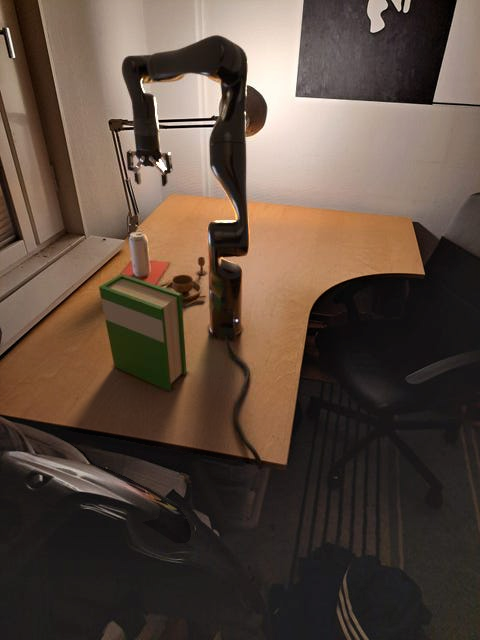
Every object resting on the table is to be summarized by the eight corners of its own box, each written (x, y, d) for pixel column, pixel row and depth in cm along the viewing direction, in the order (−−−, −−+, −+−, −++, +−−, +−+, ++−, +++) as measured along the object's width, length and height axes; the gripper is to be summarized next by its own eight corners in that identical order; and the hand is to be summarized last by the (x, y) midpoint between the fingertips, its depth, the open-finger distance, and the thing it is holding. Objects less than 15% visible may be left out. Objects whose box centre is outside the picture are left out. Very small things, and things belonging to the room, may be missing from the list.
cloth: (152, 290, 141) (152, 289, 141) (112, 286, 143) (112, 285, 142) (169, 263, 157) (169, 262, 157) (133, 260, 159) (133, 259, 159)
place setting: (153, 287, 143) (152, 271, 140) (201, 270, 154) (201, 255, 150) (182, 309, 132) (181, 293, 129) (232, 289, 143) (232, 274, 139)
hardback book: (186, 373, 108) (181, 293, 94) (169, 391, 103) (160, 309, 89) (133, 351, 115) (121, 273, 101) (114, 366, 110) (99, 287, 96)
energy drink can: (134, 269, 152) (129, 230, 143) (151, 269, 152) (147, 230, 144) (132, 278, 147) (127, 238, 139) (150, 277, 148) (145, 237, 139)
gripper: (119, 133, 127) (126, 186, 136) (165, 135, 125) (169, 190, 135) (128, 128, 133) (134, 179, 142) (172, 130, 132) (175, 182, 141)
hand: (151, 184), depth 139 cm, fingers open, 8 cm apart
